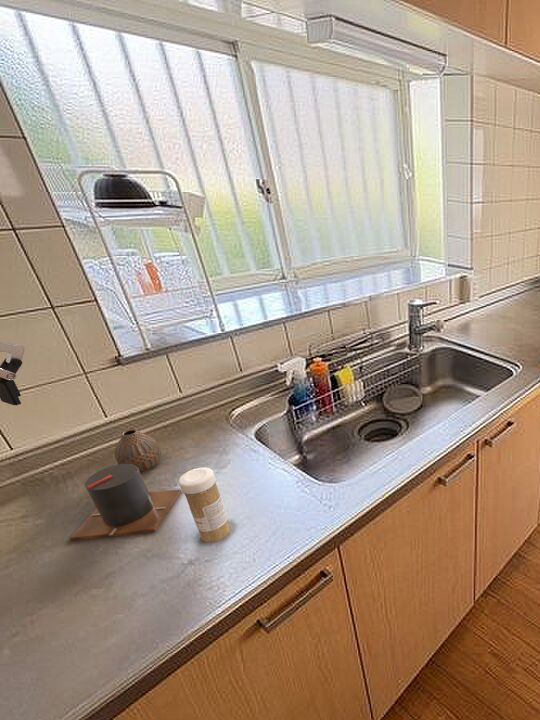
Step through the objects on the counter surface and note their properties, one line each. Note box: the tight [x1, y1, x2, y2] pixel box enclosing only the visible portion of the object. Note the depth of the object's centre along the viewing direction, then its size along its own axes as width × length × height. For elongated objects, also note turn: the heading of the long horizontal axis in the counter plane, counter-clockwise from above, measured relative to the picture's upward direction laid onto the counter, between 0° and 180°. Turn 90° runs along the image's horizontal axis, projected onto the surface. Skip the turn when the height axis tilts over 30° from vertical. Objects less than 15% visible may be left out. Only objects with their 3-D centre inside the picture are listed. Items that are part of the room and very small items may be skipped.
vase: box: [114, 428, 162, 473], centre depth 85 cm, size 7×7×9 cm
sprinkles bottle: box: [178, 467, 232, 543], centre depth 70 cm, size 5×5×14 cm
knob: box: [84, 464, 153, 526], centre depth 72 cm, size 7×7×8 cm
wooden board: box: [69, 489, 183, 542], centre depth 75 cm, size 12×11×2 cm
